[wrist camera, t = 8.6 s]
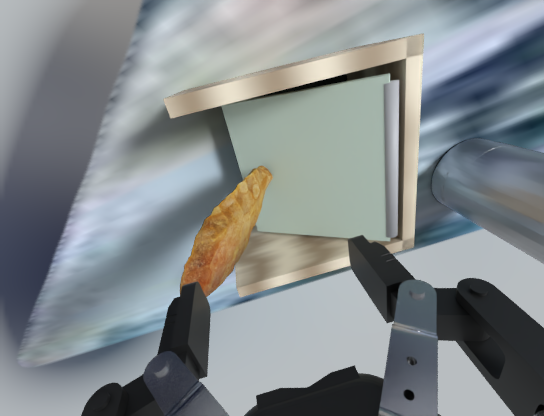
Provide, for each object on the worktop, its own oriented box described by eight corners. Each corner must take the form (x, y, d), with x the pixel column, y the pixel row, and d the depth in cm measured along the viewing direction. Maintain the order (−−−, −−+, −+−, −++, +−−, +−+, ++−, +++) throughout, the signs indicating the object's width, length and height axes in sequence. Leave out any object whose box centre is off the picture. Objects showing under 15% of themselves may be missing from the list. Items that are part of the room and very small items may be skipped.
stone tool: (286, 195, 27) (208, 341, 17) (266, 196, 28) (181, 333, 18) (270, 150, 24) (164, 292, 14) (248, 153, 25) (135, 286, 15)
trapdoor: (399, 71, 18) (398, 73, 17) (397, 234, 25) (397, 242, 24) (227, 103, 25) (220, 106, 24) (262, 225, 32) (257, 231, 31)
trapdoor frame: (356, 46, 26) (424, 33, 17) (365, 203, 35) (413, 247, 26) (183, 90, 25) (163, 99, 17) (235, 239, 34) (240, 297, 25)
